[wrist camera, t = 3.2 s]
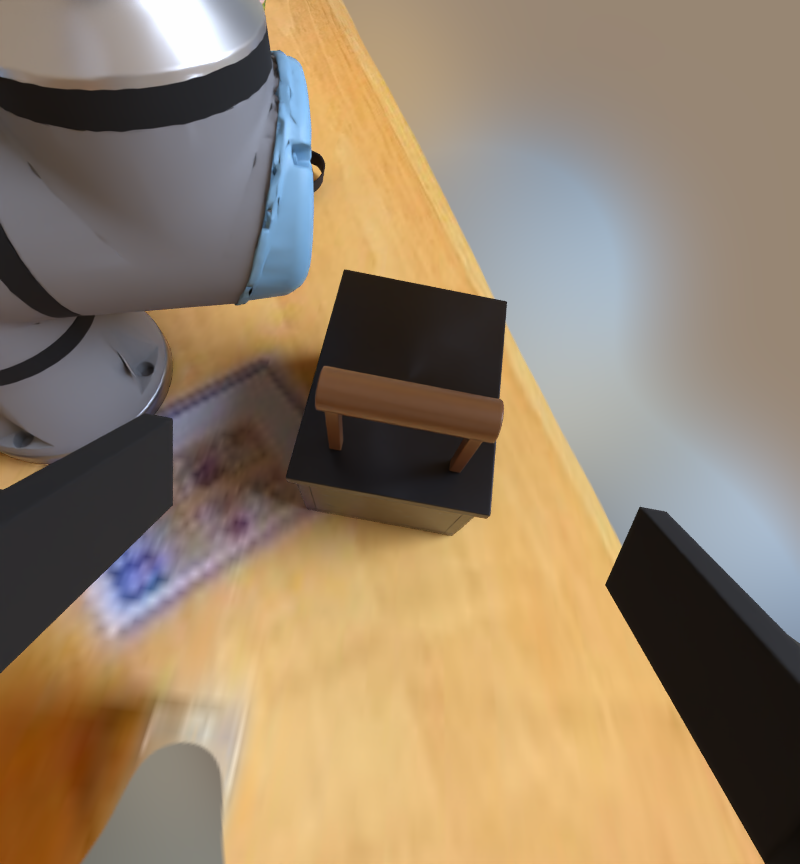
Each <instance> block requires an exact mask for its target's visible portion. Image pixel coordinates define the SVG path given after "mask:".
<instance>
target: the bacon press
mask: <svg viewBox="0 0 800 864" xmlns="http://www.w3.org/2000/svg"><path fill="white" fill-rule="evenodd" d="M506 308H507V302H506V301H501V300H496V299H491V298H486V297H481V296H476V295H471V294H466V293H461V292H456V291H451V290H446V289H441V288H436V287H431V286H426V285H421V284H416V283H411V282H405V281H400V280H395V279H390V278H385V277H380V276H375V275H370V274H365V273H360V272H355V271H350V270H344V272H343V275H342V279H341V282H340V286H339V289H338V293H337V296H336V300H335V304H334V307H333V311H332V314H331V318H330V321H329V325H328V329H327V332H326V336H325V339H324V343H323V346H322V350H321V353H320V357H319V361H318V364H317V368H316V371H315V375H314V378H313V382H312V386H311V389H310V393H309V396H308V400H307V403H306V407H305V410H304V414H303V418H302V421H301V425H300V428H299V432H298V435H297V439H296V443H295V446H294V450H293V453H292V457H291V460H290V464H289V467H288V471H287V475H286V479H287V482H290V483H296V484H301V485H306V486H312V487H317V488H323V489H328V490H334V491H339V492H344V493H350V494H355V495H361V496H366V497H372V498H377V499H382V500H388V501H393V502H399V503H404V504H409V505H415V506H420V507H426V508H431V509H437V510H442V511H447V512H453V513H458V514H464V515H469V516H474V517H480V518H485V519H486V518H488V517H489V516H490V514H491V501H492V488H493V475H494V462H495V449H496V439H497V437H498V435H499V433H500V430H501V426H502V421H503V414H504V405H503V401H502V400H501V399H499V398H500V385H501V372H502V359H503V346H504V333H505V320H506Z"/></svg>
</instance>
